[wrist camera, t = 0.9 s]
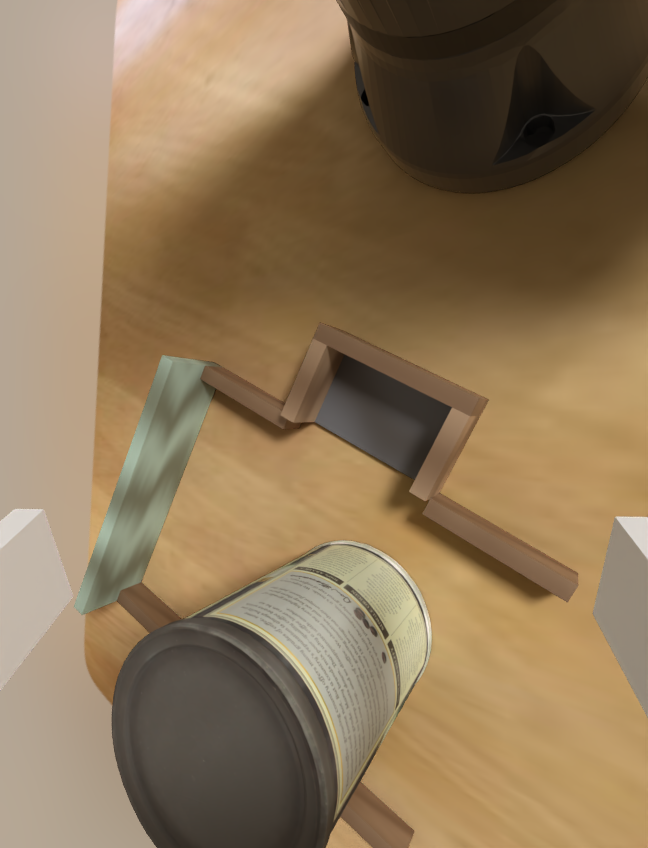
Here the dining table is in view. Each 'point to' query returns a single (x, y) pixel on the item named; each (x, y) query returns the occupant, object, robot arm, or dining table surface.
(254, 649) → the coffee can
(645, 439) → the dining table surface
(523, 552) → the wooden tray
